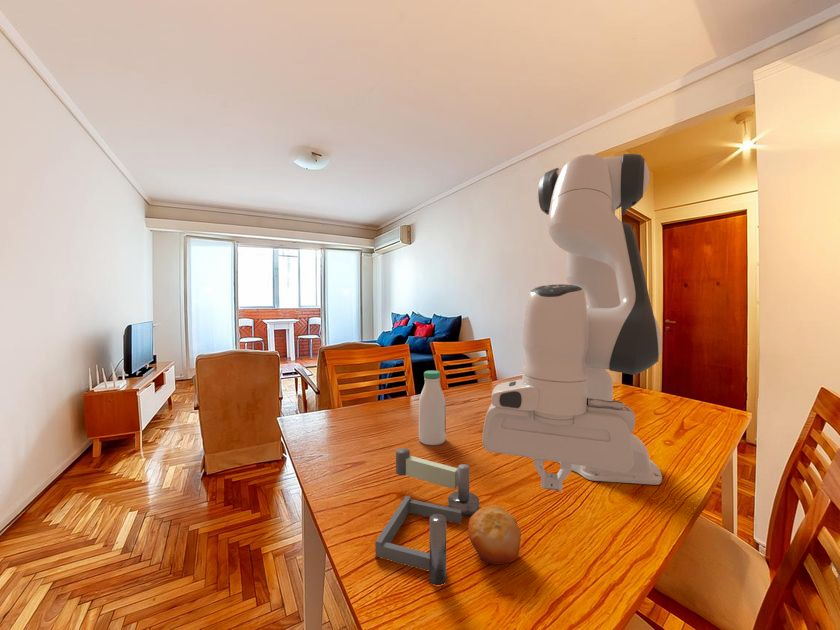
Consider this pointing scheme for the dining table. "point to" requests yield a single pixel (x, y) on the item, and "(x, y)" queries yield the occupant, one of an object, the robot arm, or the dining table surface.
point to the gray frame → (392, 527)
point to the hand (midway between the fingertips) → (551, 488)
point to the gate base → (464, 504)
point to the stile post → (437, 549)
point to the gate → (434, 472)
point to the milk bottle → (432, 411)
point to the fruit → (495, 534)
